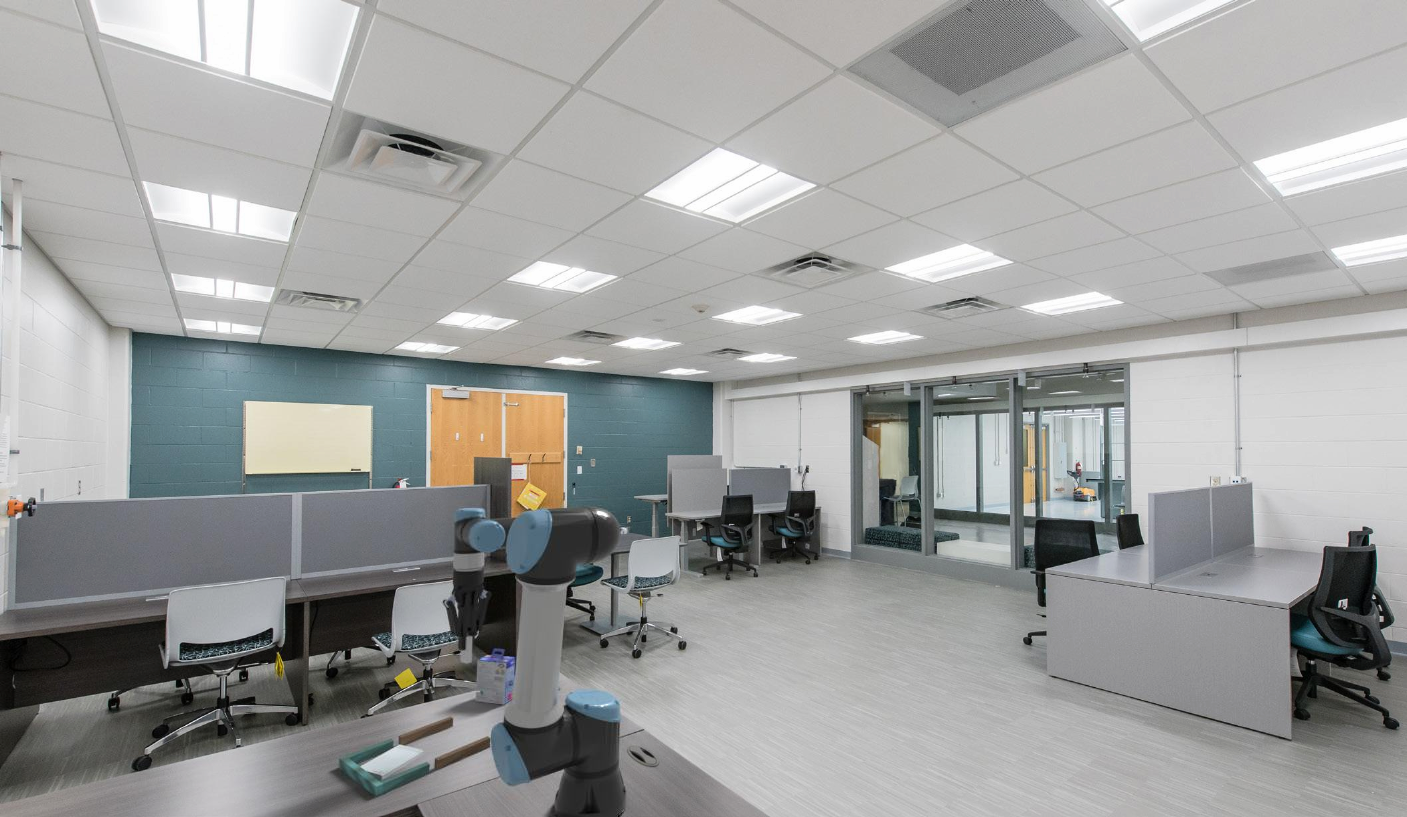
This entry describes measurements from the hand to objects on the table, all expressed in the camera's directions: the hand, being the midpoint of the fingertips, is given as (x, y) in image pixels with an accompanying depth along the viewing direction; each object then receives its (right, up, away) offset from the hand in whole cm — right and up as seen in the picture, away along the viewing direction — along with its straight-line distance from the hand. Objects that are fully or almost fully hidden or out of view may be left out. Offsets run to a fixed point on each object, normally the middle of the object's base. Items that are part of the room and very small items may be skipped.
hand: (466, 661), depth 156 cm
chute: (-9, -20, -7) cm, 23 cm away
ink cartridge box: (-1, -22, +26) cm, 34 cm away
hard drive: (-14, -21, -10) cm, 27 cm away
